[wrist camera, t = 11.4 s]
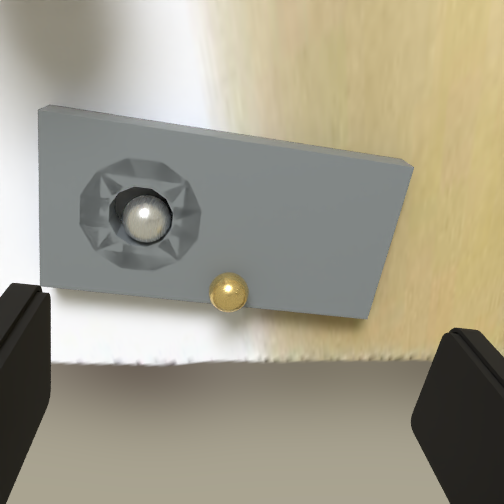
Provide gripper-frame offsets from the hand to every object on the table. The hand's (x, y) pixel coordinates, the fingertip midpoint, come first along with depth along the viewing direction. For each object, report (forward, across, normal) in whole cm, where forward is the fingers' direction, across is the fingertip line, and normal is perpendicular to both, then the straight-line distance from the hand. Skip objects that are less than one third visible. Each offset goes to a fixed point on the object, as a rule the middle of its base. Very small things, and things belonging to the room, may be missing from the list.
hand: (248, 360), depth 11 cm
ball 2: (+22, -2, +10) cm, 25 cm away
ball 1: (+25, +5, +6) cm, 26 cm away
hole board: (+26, -1, +6) cm, 27 cm away
